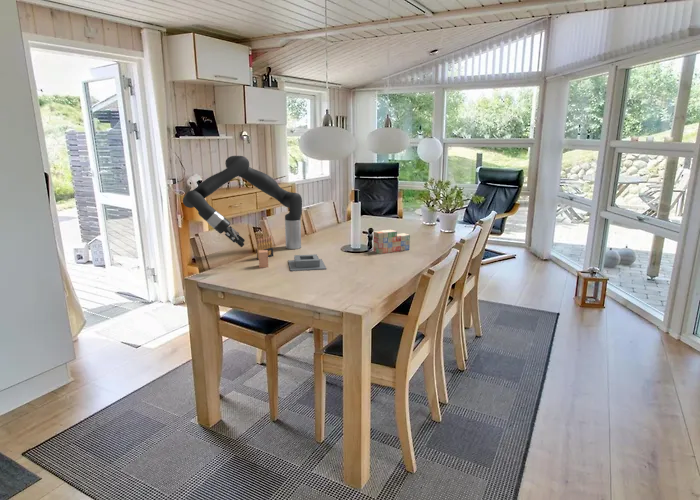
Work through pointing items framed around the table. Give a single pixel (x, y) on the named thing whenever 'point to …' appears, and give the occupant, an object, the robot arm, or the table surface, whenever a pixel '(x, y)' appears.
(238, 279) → the table surface
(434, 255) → the table surface
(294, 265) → the socket
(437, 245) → the table surface
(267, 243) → the ammunition clip
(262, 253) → the block
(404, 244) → the stack of blocks
